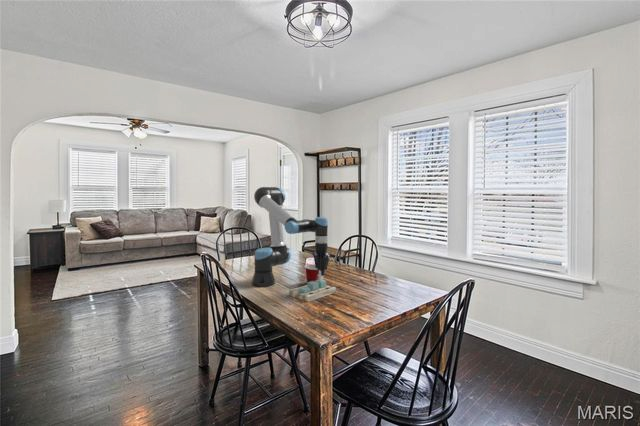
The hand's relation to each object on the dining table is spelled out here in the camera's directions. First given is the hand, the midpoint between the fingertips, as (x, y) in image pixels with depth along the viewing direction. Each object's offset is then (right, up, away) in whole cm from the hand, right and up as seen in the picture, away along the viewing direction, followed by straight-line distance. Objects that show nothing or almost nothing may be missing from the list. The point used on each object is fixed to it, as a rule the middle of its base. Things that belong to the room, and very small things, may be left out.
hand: (321, 280), depth 197 cm
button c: (0, -4, 0) cm, 4 cm away
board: (-5, -7, -5) cm, 10 cm away
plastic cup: (-6, -6, +17) cm, 19 cm away
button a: (-10, -6, -10) cm, 15 cm away
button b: (-5, -4, -5) cm, 8 cm away
